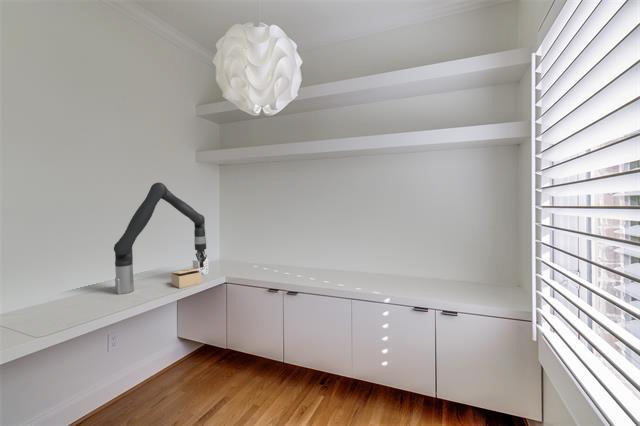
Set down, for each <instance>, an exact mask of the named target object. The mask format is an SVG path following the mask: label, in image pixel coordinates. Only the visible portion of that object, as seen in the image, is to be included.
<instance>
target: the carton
mask: <svg viewBox="0 0 640 426" xmlns="http://www.w3.org/2000/svg"><path fill="white" fill-rule="evenodd" d="M201 284H203V275H202V272H200V271H197V270H196V271H191V272H186V273H181V274H175V273H172V272H171V286H173V287H174V288H175V287H176V288H177V289H178V290H179V289H180V290H181V289H185V288H189V287H194V286H198V285H201Z"/></svg>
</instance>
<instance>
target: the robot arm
mask: <svg viewBox="0 0 640 426" xmlns="http://www.w3.org/2000/svg"><path fill="white" fill-rule="evenodd" d="M161 199H162V201H165V202H167V203H168V204H170V206H172V207H173V208H175V209H176V210H177V211H178V212H179V213H181V214H182V215H184V216H185V217H187V218H188V219H189V220H190V221H191V222H192V223H193V224H194V241H193V242H194V250H195V251H196V252H195V257H196V259H197V260H198V261H199V265H200V267H201V268H202V267H204V265H203V262H204V261H205V259H207V256H208V255H207V254H206V253H205V252H206V251H205V250H206V249H207V238H206V229H205V227H206V225H205V224H206V223H205V220H206V219H205V216H204V215H202V214H200V213H199V212H198V211H196V210H195V209H194V208H193V207H192V206H190V205H189V204H188V203H187V202H185V201H183V200H182V199H181V198H179V197H177V196H176V195H175V194H173V193H172V192H171V191H170V190H169V189H168V188H167V186H166V184H164V183H162V182H155V183H153V184H152V185H151V187H150V189H149V191H148V193H147V194H146V197H145V199H144V200H143V201H142V203H141V204H140V205H139V206H138V208H137V210H136V211H135V212H134V214H133V215H132V217H131V219H130V220H129V223H128V225H127V227H126V229H125V231H124V232H123V234H122V236H121V237H120V238H119V239H118V241H116V243H115V244H114V246H113V252H114V255H115V257H114V258H115V259H114V260H115V262H114V267H115V278H114V281H115V282H114V283H115V293H116V294H117V295H124V294H129V293H132V292H134V291H135V286H134V285H135V284H134V281H135V280H134V267H133V266H134V265H133V264H134V263H133V259H134V258H133V256H134V255H133V246H134V244H135V241H136V240H137V238H138V236H139V235H140V234H141V233H142V232H143V231H144V229H145V227H147V225H148V223H149V221H150V220H151V218H152V216H153V214H154V212H155V210H156V206H157V205H158V203H159V202H160V201H161Z"/></svg>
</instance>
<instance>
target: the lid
mask: <svg viewBox="0 0 640 426" xmlns="http://www.w3.org/2000/svg"><path fill="white" fill-rule="evenodd" d="M196 270H201V269H196V268H193V267H192V268H189V269H187V268H186V269H181V270H177V271H171V273H175V274H181V273H186V272H191V271H196Z"/></svg>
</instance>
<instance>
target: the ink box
mask: <svg viewBox="0 0 640 426" xmlns="http://www.w3.org/2000/svg"><path fill="white" fill-rule="evenodd" d="M203 265H204V267H202V268H201V267H200V265H199V261H198V260H197V258H195V259H192V268H196V269H201V270H197V271H200V272H202V276H204V275H207V274H209V258H206V259H205V261H204V262H203Z"/></svg>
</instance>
